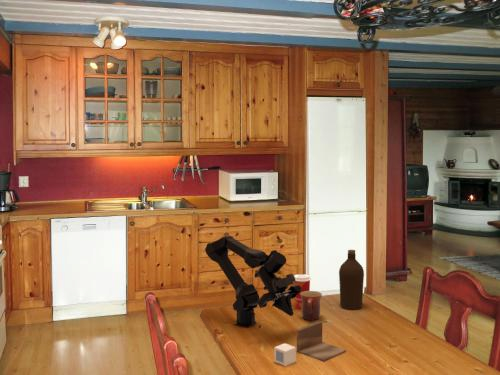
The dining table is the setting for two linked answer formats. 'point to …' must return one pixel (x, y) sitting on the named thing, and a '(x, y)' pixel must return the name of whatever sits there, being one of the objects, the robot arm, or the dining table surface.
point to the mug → (311, 304)
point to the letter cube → (285, 354)
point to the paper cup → (304, 284)
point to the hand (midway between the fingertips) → (292, 315)
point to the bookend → (315, 343)
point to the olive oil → (351, 283)
